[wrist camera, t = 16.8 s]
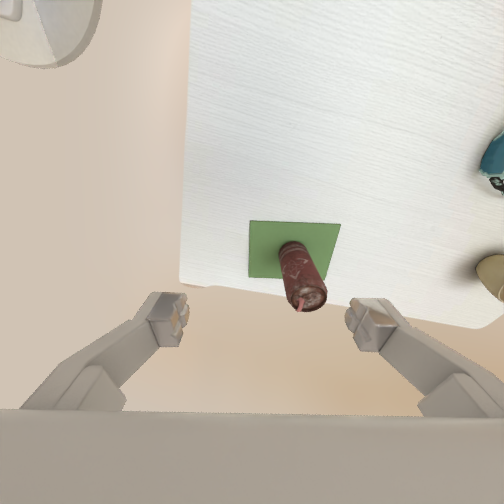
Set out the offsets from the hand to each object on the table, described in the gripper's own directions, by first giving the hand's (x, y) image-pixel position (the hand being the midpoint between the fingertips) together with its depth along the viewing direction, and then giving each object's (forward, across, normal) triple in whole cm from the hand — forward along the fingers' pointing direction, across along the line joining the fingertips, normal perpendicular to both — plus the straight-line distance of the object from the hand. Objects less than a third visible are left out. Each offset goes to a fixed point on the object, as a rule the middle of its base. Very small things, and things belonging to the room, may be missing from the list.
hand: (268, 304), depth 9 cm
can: (+27, -8, +13) cm, 31 cm away
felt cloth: (+27, -8, +13) cm, 31 cm away
